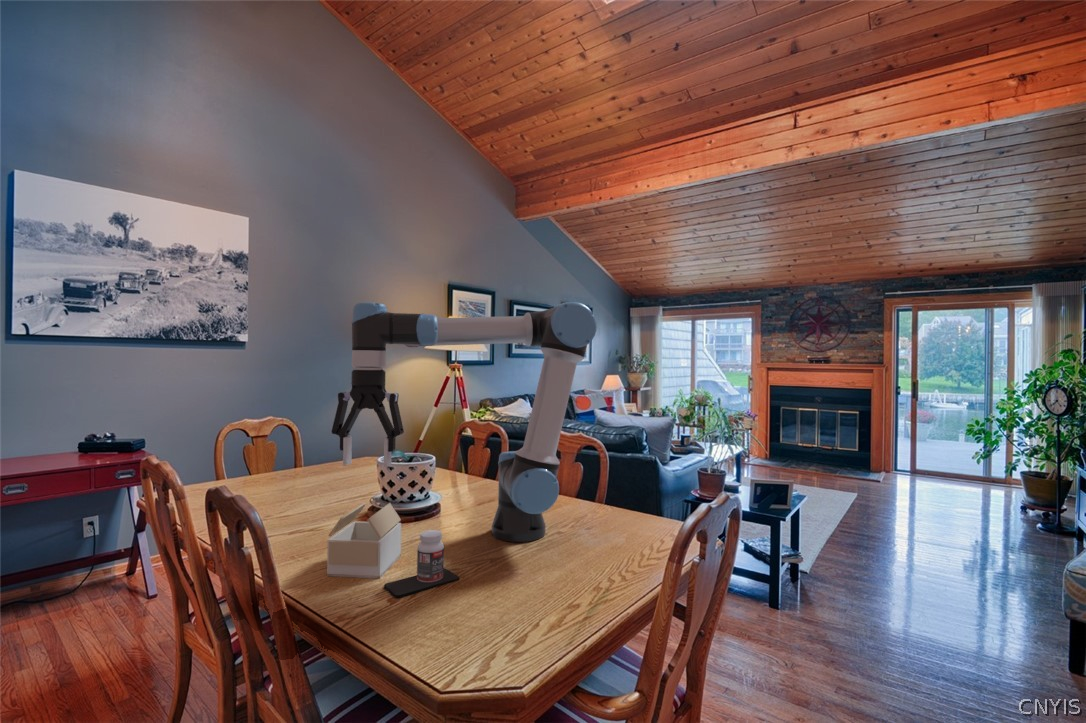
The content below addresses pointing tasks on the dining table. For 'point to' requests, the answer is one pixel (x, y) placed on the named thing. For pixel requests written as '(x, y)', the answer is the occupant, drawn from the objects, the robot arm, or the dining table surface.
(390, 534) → the carton
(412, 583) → the smartphone
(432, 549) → the pill bottle
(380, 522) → the flap
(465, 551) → the dining table surface
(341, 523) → the flap
